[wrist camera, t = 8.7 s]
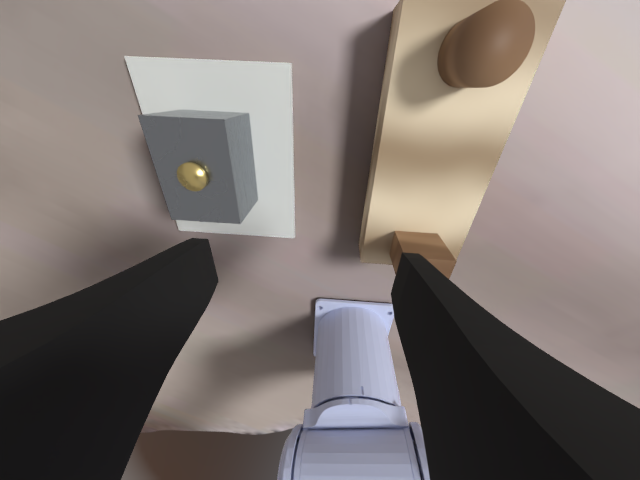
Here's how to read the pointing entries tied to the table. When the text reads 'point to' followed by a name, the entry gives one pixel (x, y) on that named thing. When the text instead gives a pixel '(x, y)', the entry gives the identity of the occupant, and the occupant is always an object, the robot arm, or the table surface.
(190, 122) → the lever cap
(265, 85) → the felt mat
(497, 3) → the body
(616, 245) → the table surface
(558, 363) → the robot arm
